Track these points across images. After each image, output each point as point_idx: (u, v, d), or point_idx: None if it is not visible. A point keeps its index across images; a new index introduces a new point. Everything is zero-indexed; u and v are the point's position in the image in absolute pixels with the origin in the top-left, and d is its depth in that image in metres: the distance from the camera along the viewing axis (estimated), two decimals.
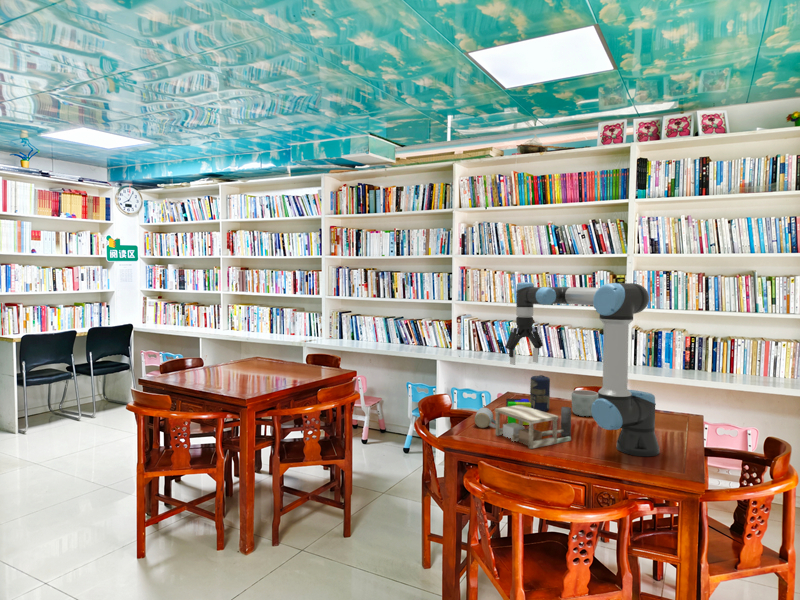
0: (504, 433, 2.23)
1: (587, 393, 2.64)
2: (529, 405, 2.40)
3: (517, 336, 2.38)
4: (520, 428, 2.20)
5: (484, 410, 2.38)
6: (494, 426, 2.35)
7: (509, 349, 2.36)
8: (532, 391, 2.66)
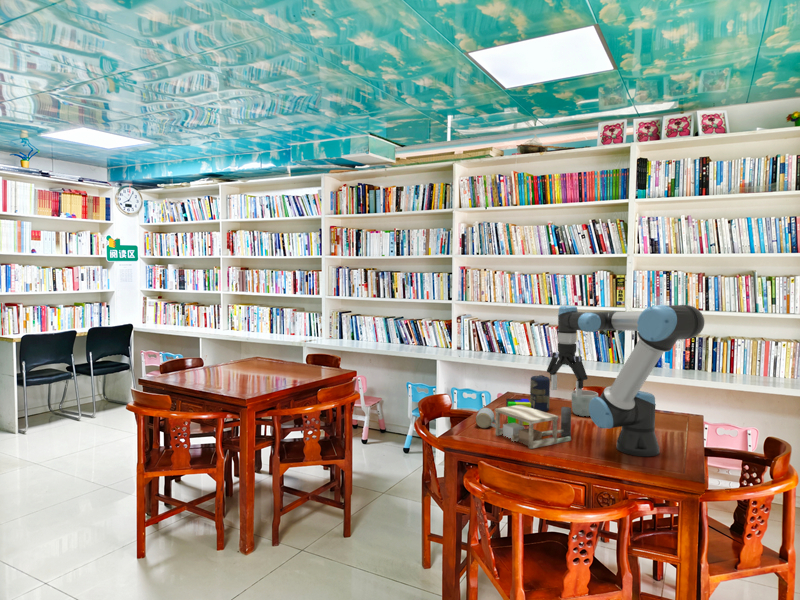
0: (504, 433, 2.23)
1: (587, 393, 2.64)
2: (529, 405, 2.40)
3: None
4: (520, 428, 2.20)
5: (485, 410, 2.38)
6: (495, 426, 2.35)
7: None
8: (532, 391, 2.66)
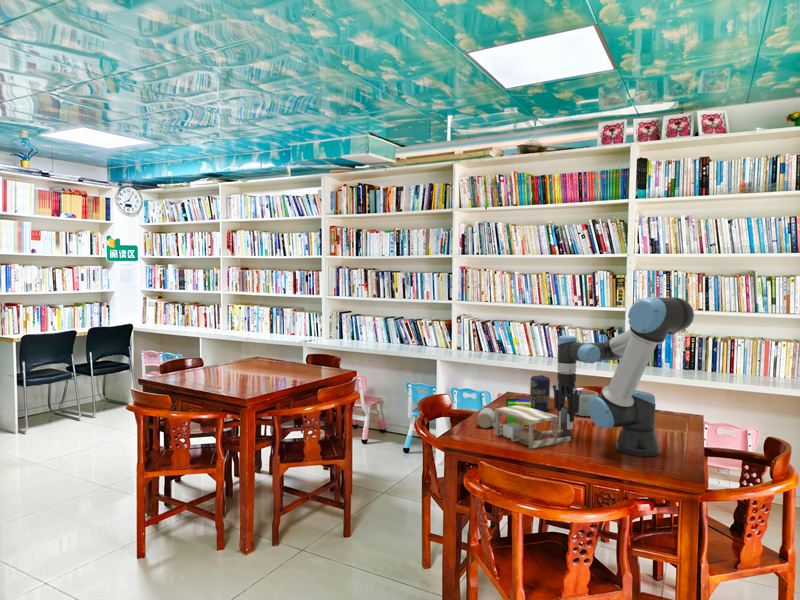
0: (504, 433, 2.24)
1: (587, 393, 2.64)
2: (529, 405, 2.40)
3: None
4: (520, 428, 2.20)
5: (487, 410, 2.38)
6: None
7: None
8: (532, 391, 2.66)
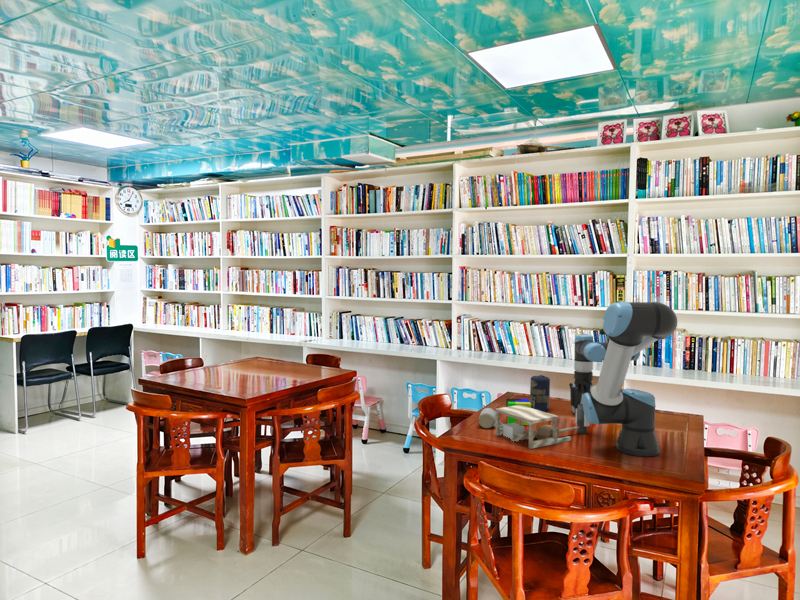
0: (504, 433, 2.24)
1: None
2: (529, 405, 2.40)
3: None
4: (520, 428, 2.20)
5: (488, 410, 2.37)
6: None
7: None
8: (532, 391, 2.66)
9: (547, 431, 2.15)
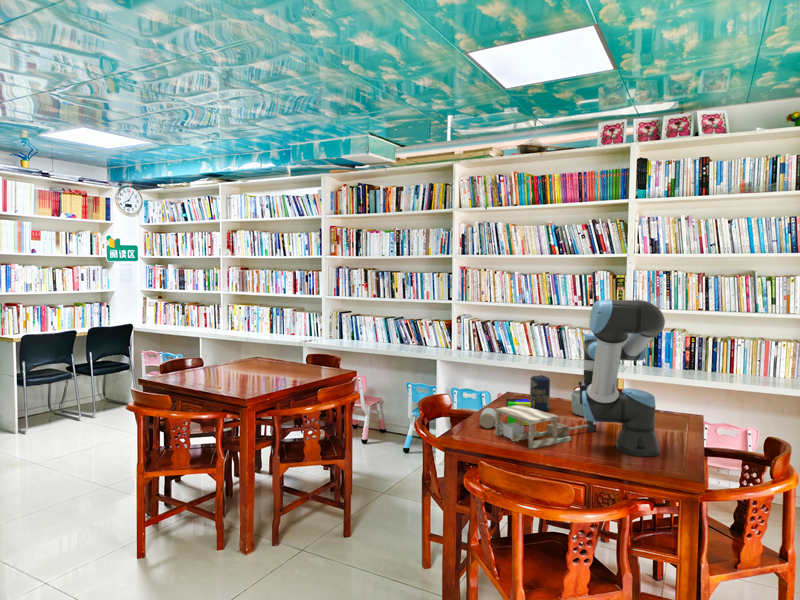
0: (504, 433, 2.24)
1: None
2: (529, 405, 2.40)
3: None
4: (520, 428, 2.20)
5: (489, 410, 2.37)
6: None
7: None
8: (532, 391, 2.66)
9: (557, 429, 2.18)
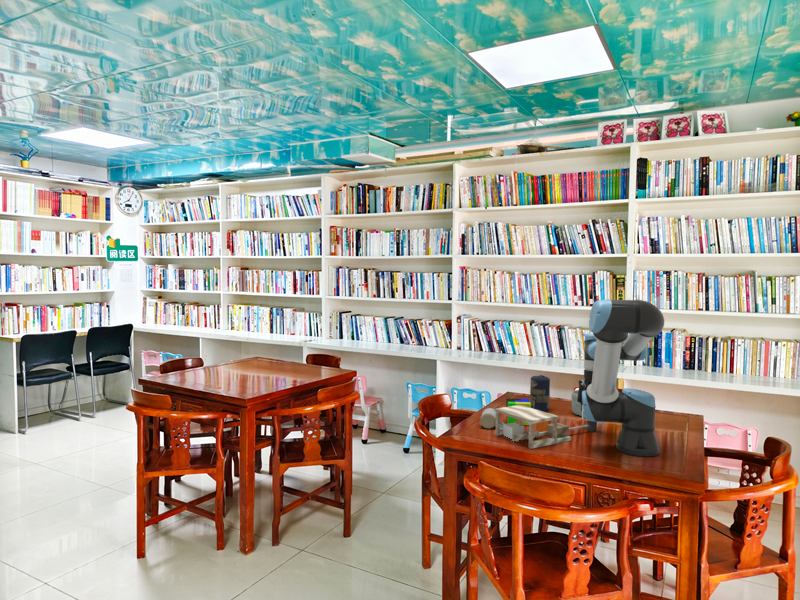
0: (504, 433, 2.24)
1: None
2: (529, 405, 2.40)
3: None
4: (520, 428, 2.20)
5: (490, 411, 2.37)
6: (500, 427, 2.34)
7: None
8: (532, 391, 2.66)
9: (557, 429, 2.18)
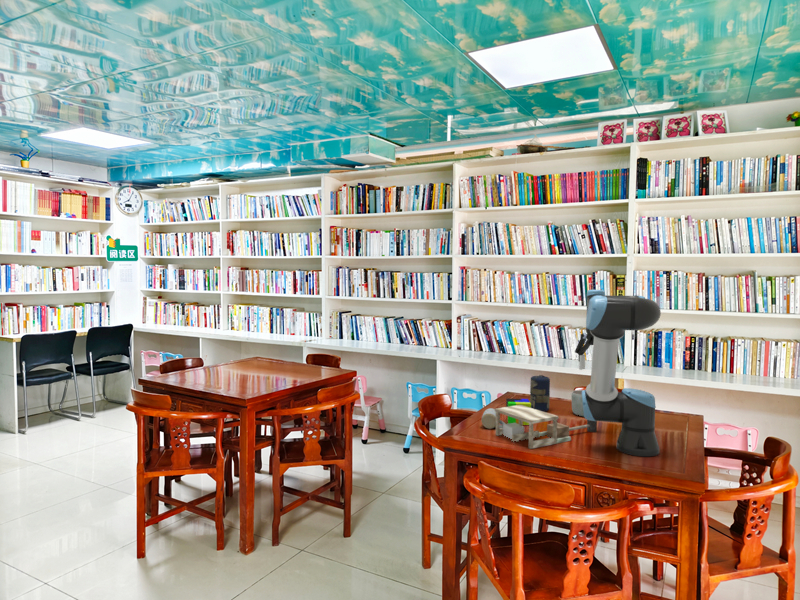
0: (504, 433, 2.24)
1: None
2: (529, 405, 2.40)
3: None
4: (519, 428, 2.20)
5: (491, 411, 2.37)
6: (501, 427, 2.34)
7: None
8: (532, 391, 2.66)
9: (557, 429, 2.18)
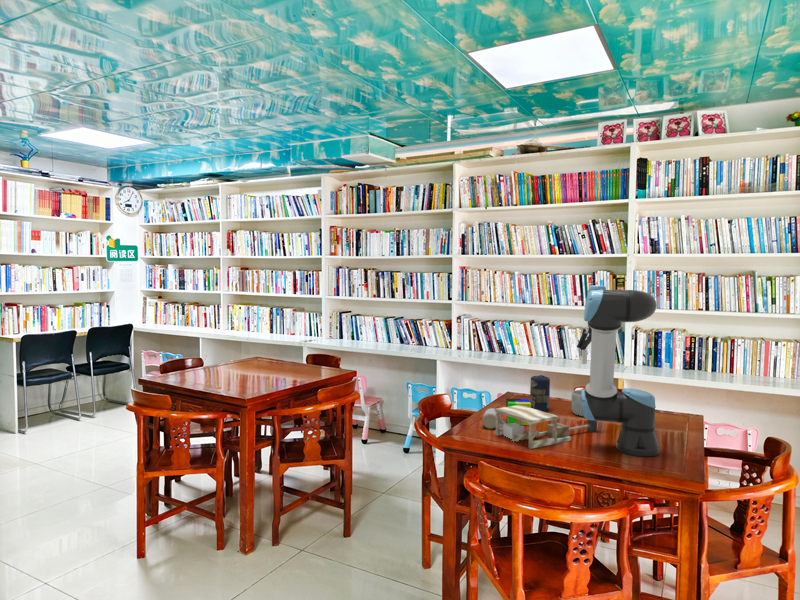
0: (504, 433, 2.24)
1: None
2: (529, 405, 2.40)
3: None
4: (519, 428, 2.20)
5: (492, 411, 2.37)
6: (502, 427, 2.33)
7: None
8: (532, 391, 2.66)
9: (557, 429, 2.18)
